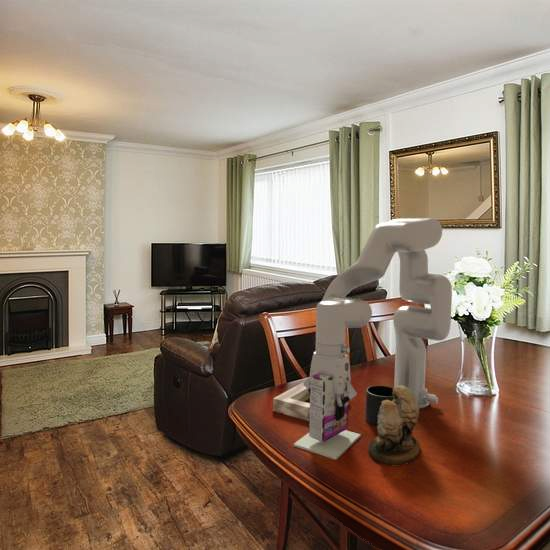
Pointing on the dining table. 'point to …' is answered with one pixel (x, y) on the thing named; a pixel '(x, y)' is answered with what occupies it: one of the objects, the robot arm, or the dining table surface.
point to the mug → (376, 401)
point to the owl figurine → (396, 429)
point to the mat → (328, 444)
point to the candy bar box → (325, 409)
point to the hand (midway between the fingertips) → (328, 415)
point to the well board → (293, 402)
